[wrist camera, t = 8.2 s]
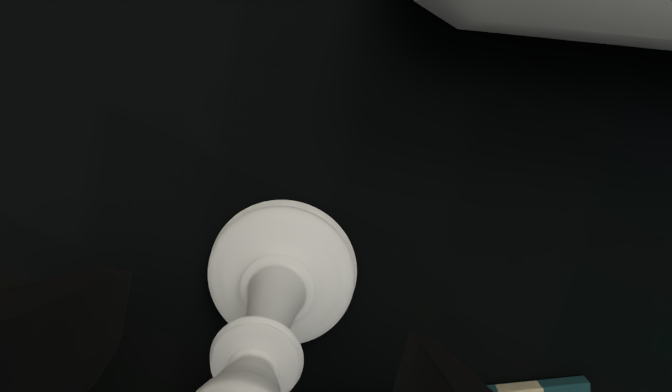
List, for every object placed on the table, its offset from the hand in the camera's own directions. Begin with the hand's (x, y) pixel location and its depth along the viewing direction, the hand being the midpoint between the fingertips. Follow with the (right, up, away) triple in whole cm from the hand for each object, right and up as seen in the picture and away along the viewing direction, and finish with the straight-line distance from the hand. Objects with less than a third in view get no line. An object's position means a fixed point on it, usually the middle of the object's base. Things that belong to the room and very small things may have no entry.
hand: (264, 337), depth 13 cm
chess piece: (0, +1, +4) cm, 5 cm away
